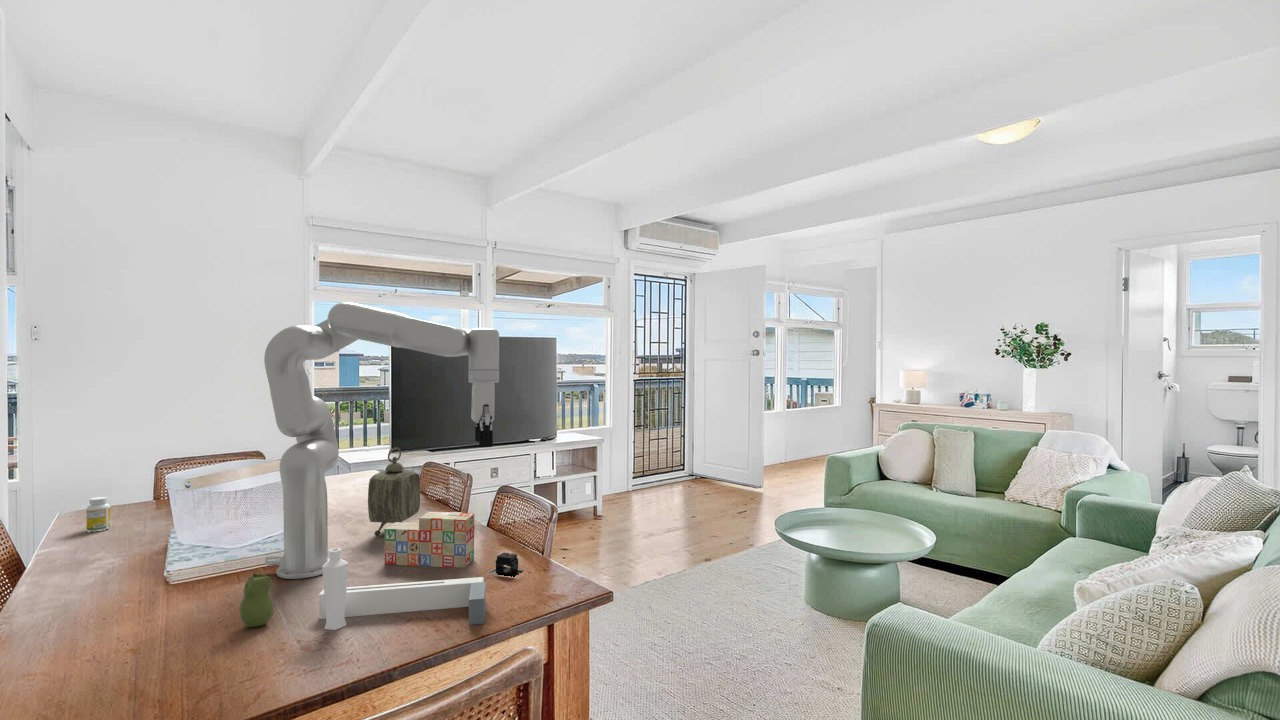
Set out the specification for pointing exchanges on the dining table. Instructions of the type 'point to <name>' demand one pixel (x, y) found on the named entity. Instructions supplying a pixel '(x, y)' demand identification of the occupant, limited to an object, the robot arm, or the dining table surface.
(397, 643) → the dining table surface
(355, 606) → the guide fence
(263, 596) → the pear
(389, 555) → the stack of blocks
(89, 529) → the supplement bottle
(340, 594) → the white faceted vase
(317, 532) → the robot arm
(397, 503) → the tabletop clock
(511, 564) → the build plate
